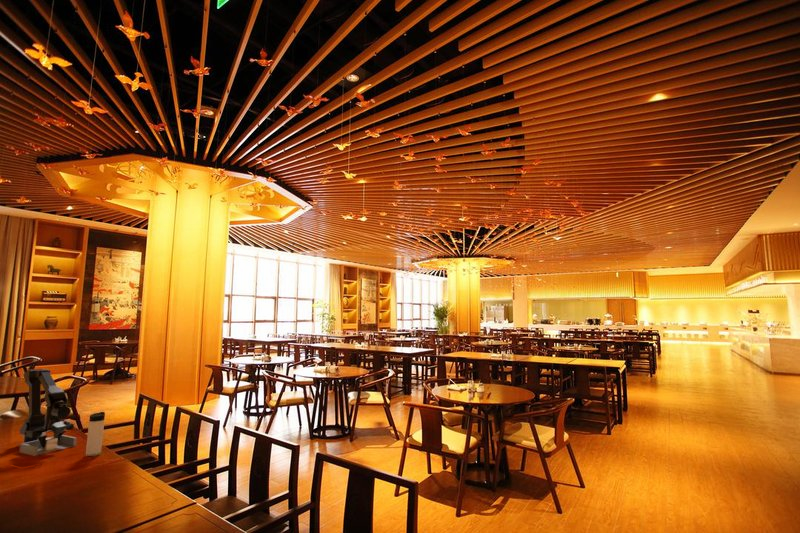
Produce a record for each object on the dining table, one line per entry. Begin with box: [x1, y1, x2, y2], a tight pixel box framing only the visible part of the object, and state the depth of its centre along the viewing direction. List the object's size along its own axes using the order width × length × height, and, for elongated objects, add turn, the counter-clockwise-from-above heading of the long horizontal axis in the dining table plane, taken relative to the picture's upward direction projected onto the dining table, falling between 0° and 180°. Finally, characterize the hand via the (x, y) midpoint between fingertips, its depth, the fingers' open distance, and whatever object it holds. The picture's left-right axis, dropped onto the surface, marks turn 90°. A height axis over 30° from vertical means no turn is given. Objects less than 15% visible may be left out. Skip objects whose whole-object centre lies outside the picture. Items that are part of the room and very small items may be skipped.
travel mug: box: [85, 411, 106, 457], centre depth 207 cm, size 6×7×20 cm
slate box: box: [19, 434, 77, 457], centre depth 212 cm, size 13×18×4 cm
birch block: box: [41, 436, 58, 451], centre depth 212 cm, size 4×4×5 cm
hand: (49, 447), depth 212 cm, fingers closed on birch block, 4 cm apart
